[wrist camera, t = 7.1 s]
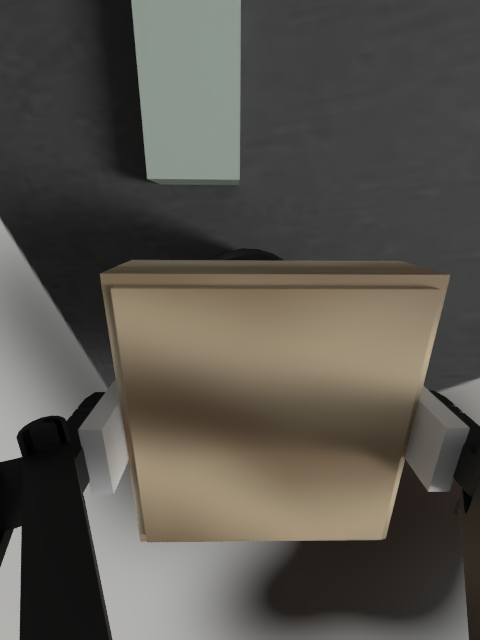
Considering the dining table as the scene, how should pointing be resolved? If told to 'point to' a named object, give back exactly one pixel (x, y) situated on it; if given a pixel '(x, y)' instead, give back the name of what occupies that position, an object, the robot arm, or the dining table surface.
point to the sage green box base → (189, 89)
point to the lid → (269, 392)
